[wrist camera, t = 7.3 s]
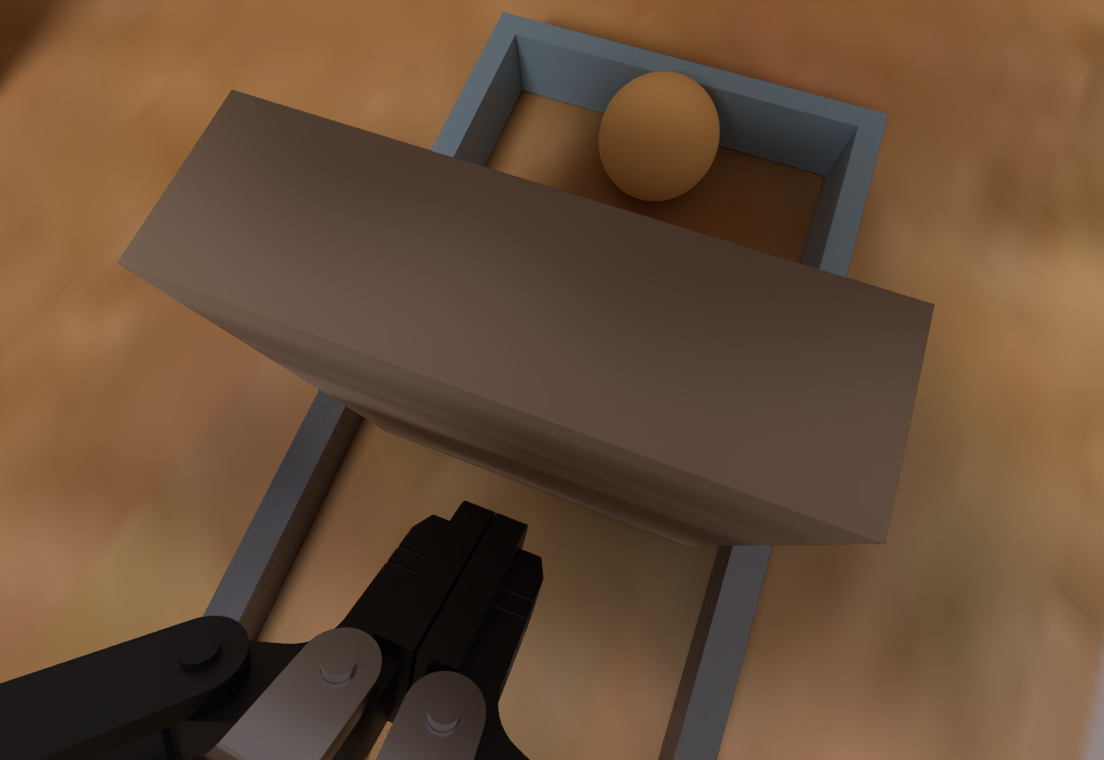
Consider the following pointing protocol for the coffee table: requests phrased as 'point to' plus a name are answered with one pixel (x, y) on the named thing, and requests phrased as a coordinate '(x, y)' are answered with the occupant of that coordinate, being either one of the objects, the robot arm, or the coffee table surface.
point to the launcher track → (304, 488)
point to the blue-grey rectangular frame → (741, 102)
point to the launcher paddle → (547, 330)
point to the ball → (659, 136)
